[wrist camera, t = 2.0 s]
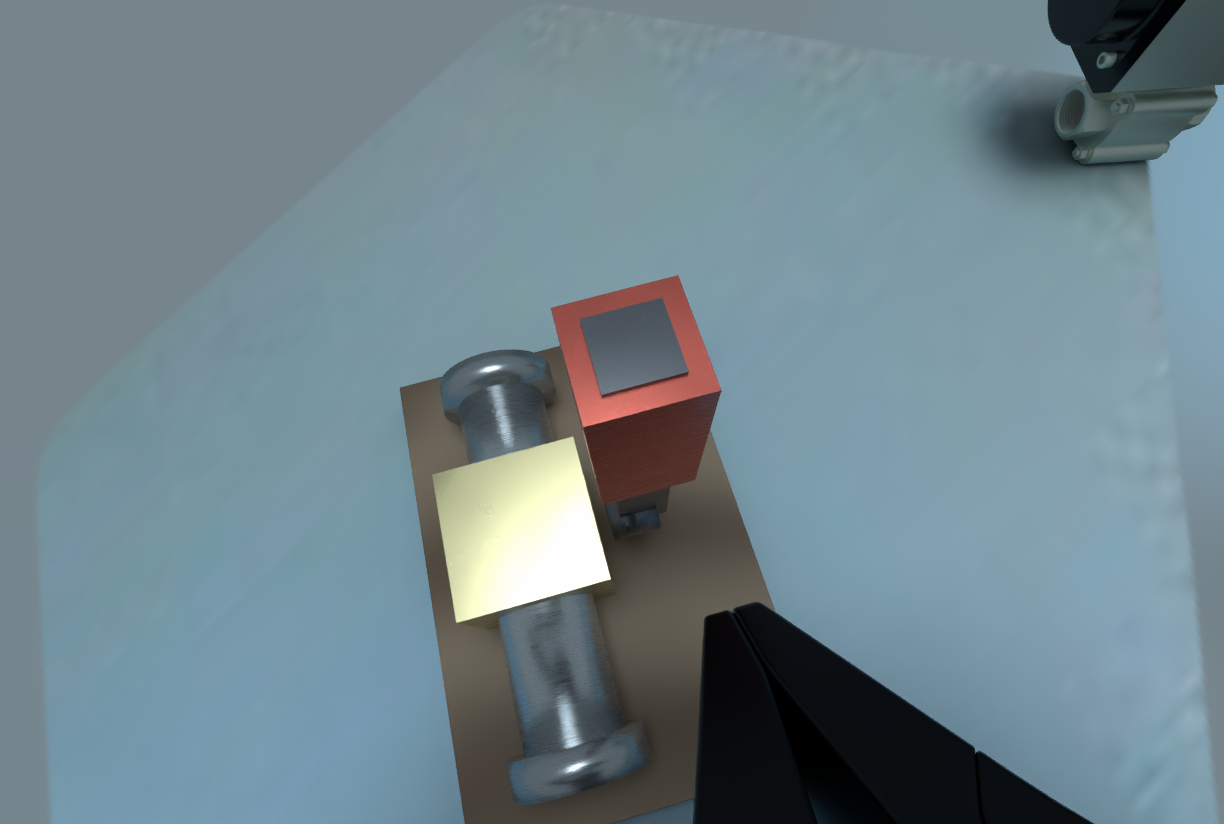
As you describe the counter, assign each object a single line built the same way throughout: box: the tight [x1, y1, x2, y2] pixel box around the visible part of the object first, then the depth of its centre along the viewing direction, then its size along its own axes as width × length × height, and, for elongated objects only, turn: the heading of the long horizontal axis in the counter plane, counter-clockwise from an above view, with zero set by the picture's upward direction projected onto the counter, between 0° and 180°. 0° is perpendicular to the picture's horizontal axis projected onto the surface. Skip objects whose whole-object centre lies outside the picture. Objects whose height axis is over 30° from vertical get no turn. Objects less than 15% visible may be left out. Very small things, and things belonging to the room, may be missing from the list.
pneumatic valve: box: [1048, 0, 1224, 164], centre depth 23 cm, size 6×12×12 cm, turn 93°
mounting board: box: [400, 346, 775, 824], centre depth 22 cm, size 16×11×1 cm
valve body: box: [432, 350, 652, 805], centre depth 20 cm, size 13×4×4 cm, turn 15°
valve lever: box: [551, 275, 721, 541], centre depth 15 cm, size 2×2×11 cm
